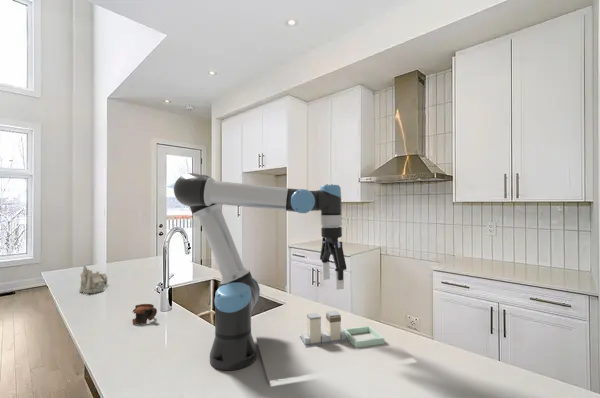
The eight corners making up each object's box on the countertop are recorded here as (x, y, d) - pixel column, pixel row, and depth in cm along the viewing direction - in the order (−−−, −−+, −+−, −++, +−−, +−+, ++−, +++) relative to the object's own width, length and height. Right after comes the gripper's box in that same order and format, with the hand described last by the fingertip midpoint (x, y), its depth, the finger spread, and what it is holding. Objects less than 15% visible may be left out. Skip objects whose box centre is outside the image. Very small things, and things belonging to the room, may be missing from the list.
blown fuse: (330, 340, 111) (330, 315, 111) (326, 336, 115) (326, 311, 115) (340, 339, 112) (340, 314, 112) (336, 334, 117) (336, 310, 117)
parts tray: (355, 350, 107) (355, 341, 107) (343, 337, 117) (343, 328, 117) (384, 346, 109) (384, 337, 109) (369, 333, 120) (369, 325, 120)
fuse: (310, 343, 110) (310, 317, 110) (307, 338, 113) (306, 313, 113) (320, 342, 111) (320, 316, 111) (317, 337, 114) (317, 312, 114)
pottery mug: (125, 325, 130) (128, 305, 134) (142, 327, 138) (144, 308, 142) (148, 321, 127) (150, 300, 131) (164, 323, 135) (166, 304, 139)
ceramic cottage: (87, 294, 170) (88, 267, 171) (74, 291, 179) (75, 265, 180) (116, 289, 183) (117, 264, 184) (103, 286, 192) (104, 262, 193)
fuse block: (306, 351, 107) (306, 341, 107) (299, 339, 115) (299, 331, 115) (349, 345, 111) (349, 336, 111) (339, 334, 119) (339, 326, 119)
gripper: (355, 229, 103) (356, 292, 103) (328, 223, 127) (329, 275, 127) (334, 230, 101) (336, 294, 101) (311, 224, 125) (312, 276, 125)
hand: (332, 283), depth 114 cm, fingers open, 13 cm apart
